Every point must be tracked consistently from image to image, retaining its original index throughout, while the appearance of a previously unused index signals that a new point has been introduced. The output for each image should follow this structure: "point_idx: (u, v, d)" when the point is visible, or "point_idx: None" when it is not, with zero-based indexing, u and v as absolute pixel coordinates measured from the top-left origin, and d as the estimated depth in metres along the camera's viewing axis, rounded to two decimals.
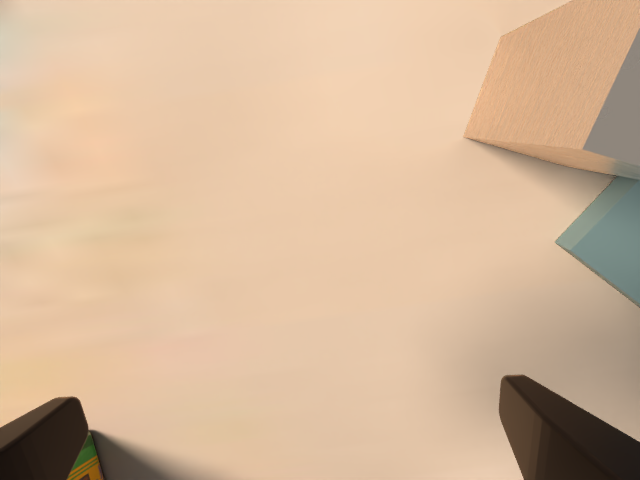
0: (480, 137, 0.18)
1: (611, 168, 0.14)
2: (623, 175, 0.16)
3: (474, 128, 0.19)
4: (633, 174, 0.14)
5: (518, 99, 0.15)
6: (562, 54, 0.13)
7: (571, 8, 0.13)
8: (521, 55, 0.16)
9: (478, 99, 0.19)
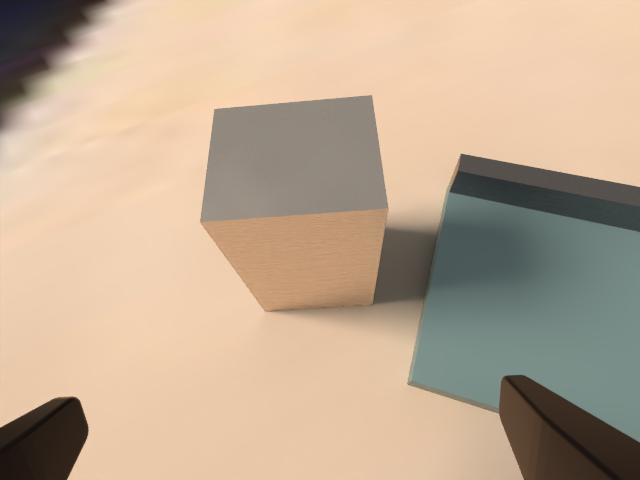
0: (254, 296, 0.19)
1: (318, 258, 0.15)
2: (362, 270, 0.16)
3: None
4: (338, 255, 0.15)
5: None
6: None
7: None
8: None
9: None
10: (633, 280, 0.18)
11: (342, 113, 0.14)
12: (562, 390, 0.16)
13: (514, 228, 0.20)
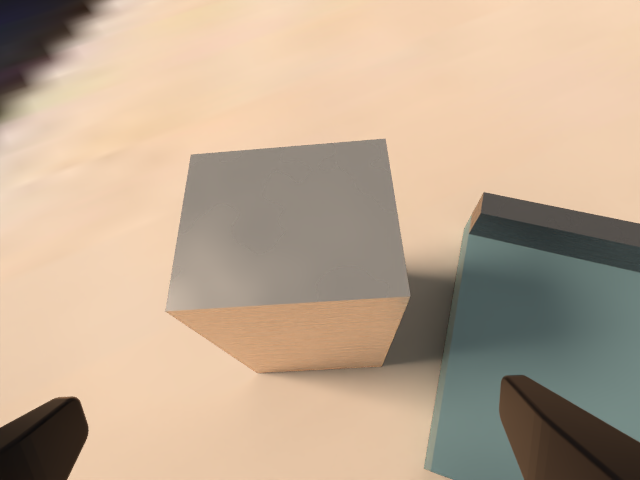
0: (244, 363, 0.16)
1: (319, 336, 0.12)
2: (372, 344, 0.13)
3: None
4: (343, 333, 0.12)
5: None
6: None
7: None
8: None
9: None
10: None
11: (348, 162, 0.11)
12: None
13: (546, 278, 0.17)
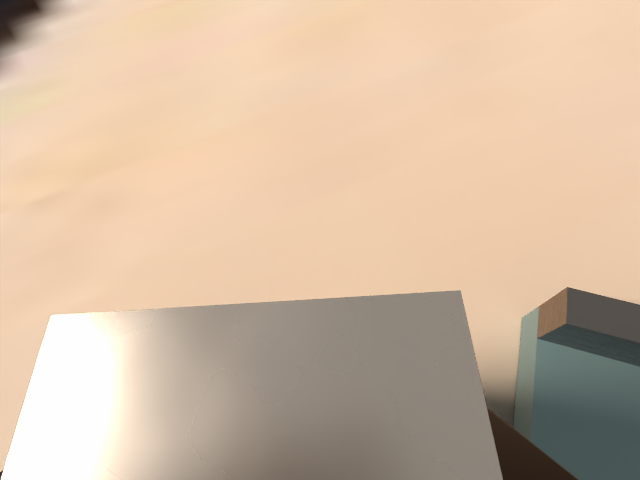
0: None
1: None
2: None
3: None
4: None
5: None
6: None
7: None
8: None
9: None
10: None
11: (384, 353, 0.05)
12: None
13: None
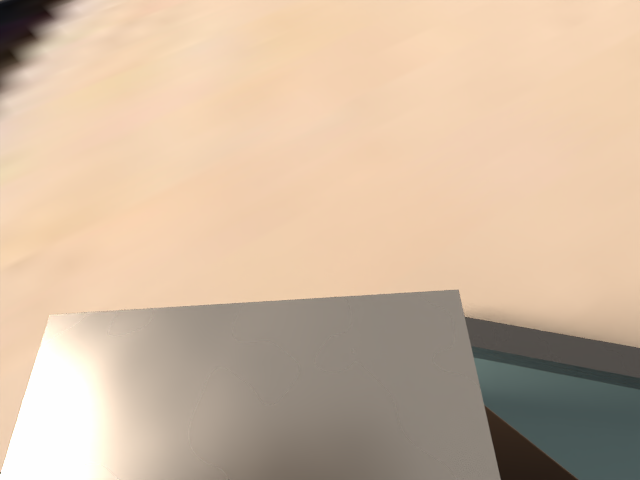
0: None
1: None
2: None
3: None
4: None
5: None
6: None
7: None
8: None
9: None
10: (626, 461, 0.15)
11: (382, 351, 0.05)
12: None
13: None
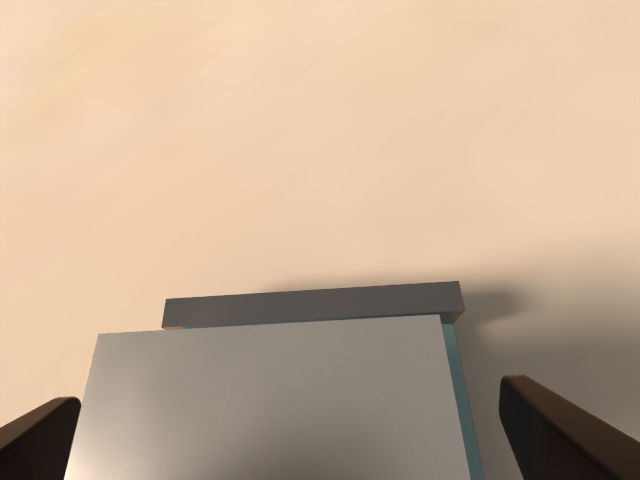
0: None
1: None
2: None
3: None
4: None
5: None
6: None
7: None
8: None
9: None
10: None
11: (376, 366, 0.06)
12: None
13: None
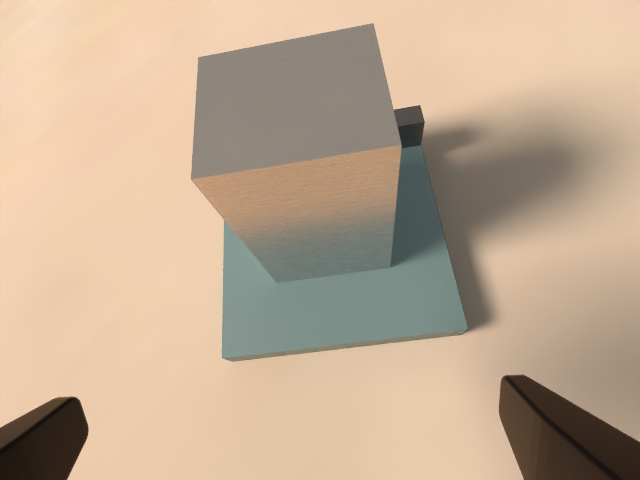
0: (264, 267, 0.18)
1: (327, 215, 0.13)
2: (377, 227, 0.15)
3: None
4: (348, 210, 0.13)
5: None
6: None
7: None
8: None
9: None
10: None
11: (341, 46, 0.12)
12: (345, 311, 0.19)
13: None
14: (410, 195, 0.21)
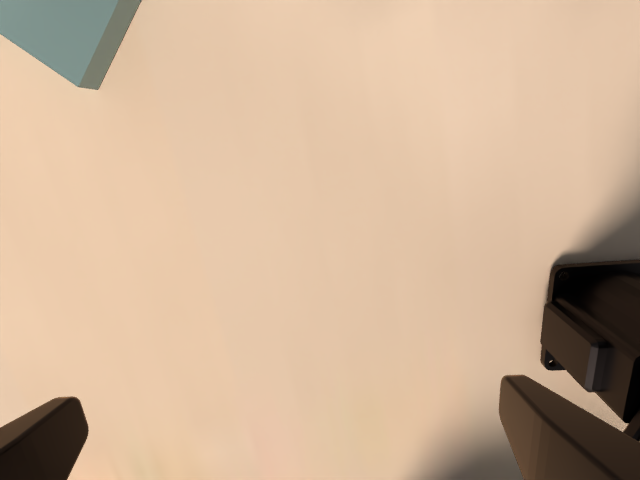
0: None
1: None
2: None
3: None
4: None
5: None
6: None
7: None
8: None
9: None
10: None
11: None
12: None
13: None
14: None
